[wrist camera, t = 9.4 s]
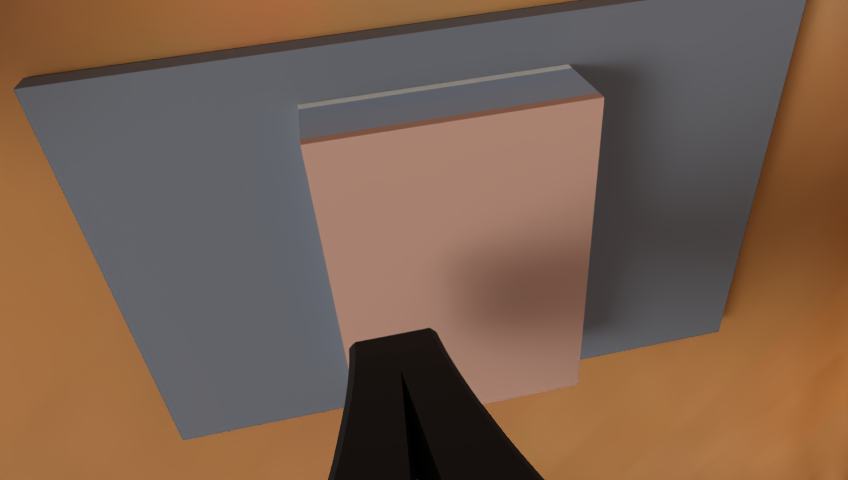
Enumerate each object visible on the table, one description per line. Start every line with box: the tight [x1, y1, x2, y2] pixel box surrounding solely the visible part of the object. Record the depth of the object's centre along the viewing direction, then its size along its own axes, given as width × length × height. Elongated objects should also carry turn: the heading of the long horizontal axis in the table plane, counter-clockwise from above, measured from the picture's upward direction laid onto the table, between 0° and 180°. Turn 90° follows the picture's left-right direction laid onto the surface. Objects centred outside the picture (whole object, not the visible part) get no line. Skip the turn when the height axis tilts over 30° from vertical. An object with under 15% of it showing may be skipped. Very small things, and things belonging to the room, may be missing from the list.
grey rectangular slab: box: [14, 0, 806, 440], centre depth 14 cm, size 9×14×1 cm, turn 95°
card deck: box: [298, 64, 604, 404], centre depth 13 cm, size 7×2×5 cm
